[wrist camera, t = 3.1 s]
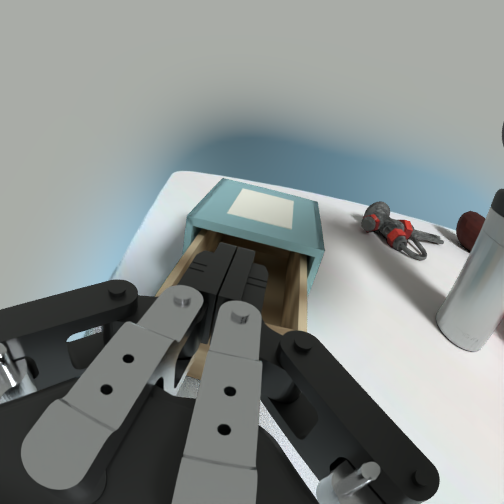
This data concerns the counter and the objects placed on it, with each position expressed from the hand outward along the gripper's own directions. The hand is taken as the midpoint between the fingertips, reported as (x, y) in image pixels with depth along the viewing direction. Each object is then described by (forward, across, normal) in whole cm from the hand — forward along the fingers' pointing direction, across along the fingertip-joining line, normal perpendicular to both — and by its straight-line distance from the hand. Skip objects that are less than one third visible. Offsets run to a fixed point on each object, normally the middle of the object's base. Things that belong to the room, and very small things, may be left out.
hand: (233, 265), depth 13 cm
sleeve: (+19, 0, +13) cm, 23 cm away
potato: (+58, -56, +13) cm, 82 cm away
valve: (+48, -32, +13) cm, 59 cm away
